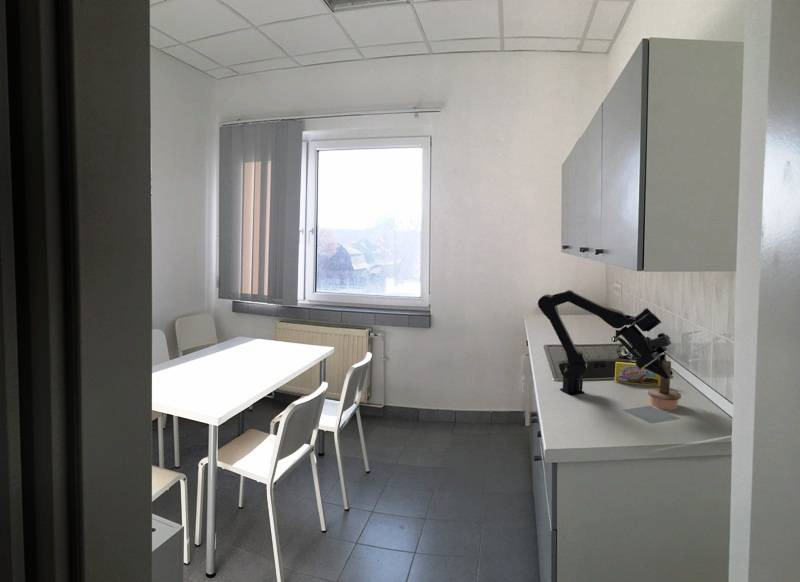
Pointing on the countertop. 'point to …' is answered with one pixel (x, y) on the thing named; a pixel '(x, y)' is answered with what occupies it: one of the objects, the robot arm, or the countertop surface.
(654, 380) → the candy box
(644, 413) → the grey rubber mat
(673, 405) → the terracotta bowl
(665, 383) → the walnut cover
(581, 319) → the countertop surface
